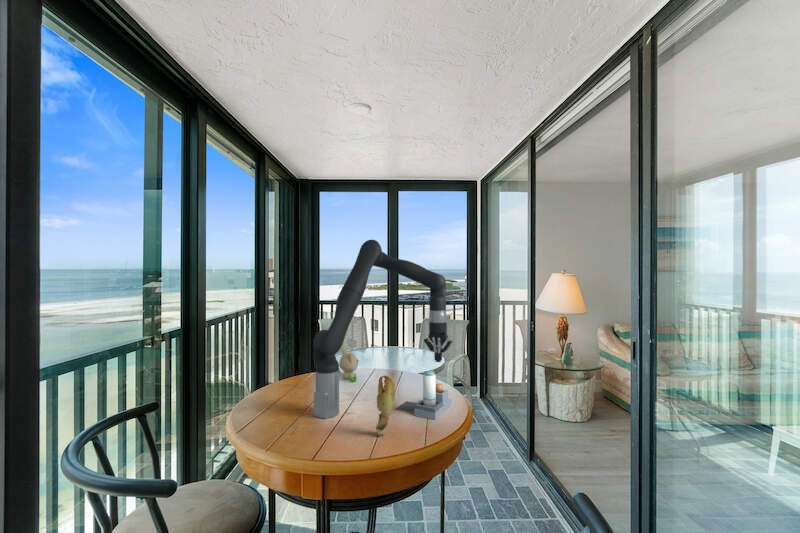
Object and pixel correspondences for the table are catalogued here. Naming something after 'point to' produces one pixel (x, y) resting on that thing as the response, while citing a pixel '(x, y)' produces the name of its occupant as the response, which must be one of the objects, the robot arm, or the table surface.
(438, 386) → the plunger
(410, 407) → the pad
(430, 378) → the cartridge
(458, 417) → the table surface
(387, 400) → the crab claw
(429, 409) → the housing
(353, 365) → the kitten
